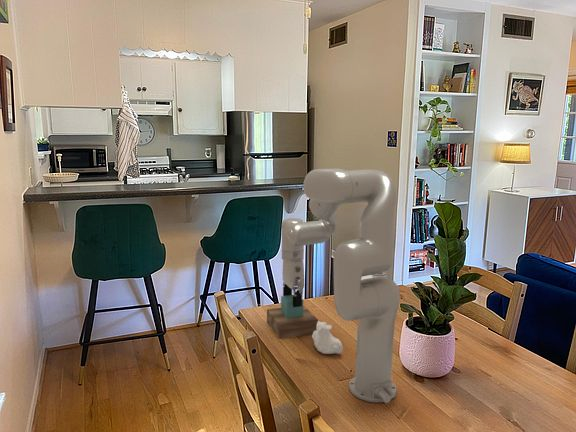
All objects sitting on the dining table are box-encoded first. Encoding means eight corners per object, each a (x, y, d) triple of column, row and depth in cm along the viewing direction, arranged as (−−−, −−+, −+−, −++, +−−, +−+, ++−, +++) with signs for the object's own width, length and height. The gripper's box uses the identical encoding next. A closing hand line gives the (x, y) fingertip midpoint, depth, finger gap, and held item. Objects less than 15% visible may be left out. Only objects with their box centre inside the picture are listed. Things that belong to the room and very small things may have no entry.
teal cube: (303, 316, 160) (303, 300, 159) (286, 318, 158) (287, 302, 157) (296, 310, 165) (296, 294, 164) (281, 312, 163) (281, 296, 162)
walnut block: (317, 332, 158) (317, 319, 158) (279, 338, 154) (279, 324, 153) (302, 317, 171) (302, 304, 170) (266, 322, 167) (266, 309, 166)
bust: (311, 351, 150) (296, 332, 144) (324, 332, 153) (310, 313, 147) (339, 365, 142) (325, 345, 135) (352, 345, 145) (338, 324, 138)
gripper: (312, 260, 151) (311, 309, 154) (293, 247, 167) (293, 292, 170) (291, 262, 148) (290, 312, 151) (274, 249, 164) (274, 294, 167)
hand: (292, 301), depth 161 cm, fingers open, 9 cm apart
